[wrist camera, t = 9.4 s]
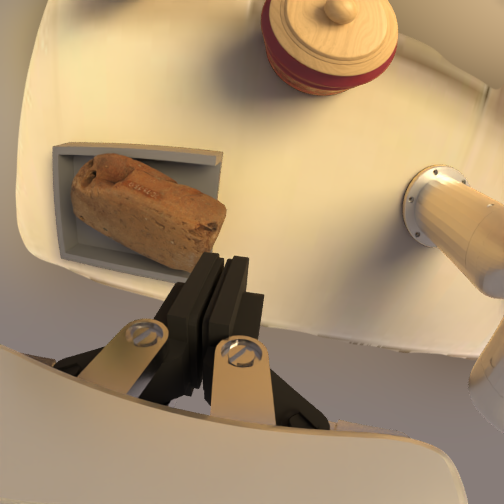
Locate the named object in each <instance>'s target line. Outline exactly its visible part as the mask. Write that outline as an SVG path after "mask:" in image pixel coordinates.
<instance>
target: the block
mask: <svg viewBox="0 0 504 504" xmlns="http://www.w3.org/2000/svg"><path fill="white" fill-rule="evenodd" d="M70 195H71V201H72V206H73V212H74V214H75V216H76V217H77V218H79V219H80V220H81V221H83V222H84V223H85V224H87V225H89V226H90V227H92V228H94V229H95V230H97V231H98V232H100V233H102V234H104V235H105V236H107V237H109V238H111V239H113V240H114V241H116V242H118V243H120V244H122V245H124V246H125V247H127V248H129V249H131V250H133V251H135V252H137V253H139V254H141V255H143V256H145V257H147V258H150V259H152V260H154V261H156V262H158V263H160V264H163V265H165V266H167V267H169V268H172V269H176V270H185V271H187V272H189V273H191V272H192V271H193V269H194V267H195V265H196V264H197V262H198V260H199V259H200V257H201V255H202V254H203V252H210V251H211V249H212V247H213V245H214V243H215V240H216V239H217V236H218V234H219V232H220V229H221V227H222V224H223V222H224V219H225V216H226V207H225V205H223V204H222V203H220V202H219V201H218V200H216V199H214V198H213V197H211V196H209V195H207V194H204V193H202V192H200V191H199V190H197V189H194V188H191V187H189V186H187V185H182V184H178V183H177V182H176V181H175V180H173V179H172V178H170V177H168V176H167V175H165V174H163V173H162V172H160V171H158V170H156V169H154V168H152V167H150V166H148V165H146V164H144V163H142V162H139V161H137V160H133V159H132V158H129V157H127V156H124V155H119V154H115V153H106V154H99V155H97V156H95V157H94V158H93V159H91V160H89V161H88V162H87V163H85V164H84V165H83V166H82V167H81V168H80V170H79V171H78V173H77V174H76V176H75V177H74V178H73V181H72V185H71V194H70Z"/></svg>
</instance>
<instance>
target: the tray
mask: <svg viewBox="0 0 504 504" xmlns="http://www.w3.org/2000/svg"><path fill="white" fill-rule="evenodd" d="M106 153H115V154H119V155H124V156H127V157H129V158H132V159H133V160H137V161H139V162H142V163H144V164H146V165H148V166H150V167H152V168H154V169H156V170H158V171H160V172H162V173H163V174H165V175H167V176H168V177H170V178H172V179H173V180H175V181H176V182H177V183H178V184H182V185H187V186H189V187H191V188H194V189H197V190H199V191H200V192H202V193H204V194H207V195H209V196H211V197H213V198H214V199H216V200H218V191H219V182H220V173H221V165H222V156H223V152H218V151H210V150H201V149H191V148H181V147H169V146H157V145H141V144H122V143H87V142H69V143H65V144H61V145H57V146H53V187H54V203H55V215H56V225H57V233H58V241H59V249H60V255H61V258H62V259H66V260H70V261H74V262H79V263H83V264H87V265H92V266H96V267H100V268H105V269H109V270H114V271H119V272H123V273H128V274H133V275H137V276H142V277H147V278H152V279H157V280H162V281H167V282H172V283H177V282H183V283H185V282H186V281H187V279H188V277H189V276H190V274H191V273H189V272H187V271H185V270H176V269H172V268H169V267H167V266H165V265H163V264H160V263H158V262H156V261H154V260H152V259H150V258H147V257H145V256H143V255H141V254H139V253H137V252H135V251H133V250H131V249H129V248H127V247H125V246H124V245H122V244H120V243H118V242H116V241H114V240H113V239H111V238H109V237H107V236H105V235H104V234H102V233H100V232H98V231H97V230H95V229H94V228H92V227H90V226H89V225H87V224H85V223H84V222H83V221H81V220H80V219H79V218H77V217H76V216H75V214H74V212H73V206H72V201H71V195H70V194H71V185H72V181H73V178H74V177H75V176H76V174H77V173H78V171H79V170H80V168H81V167H82V166H83V165H84V164H85V163H87V162H88V161H89V160H91V159H93V158H94V157H95V156H97V155H99V154H106ZM212 249H213V247H212ZM212 249H211V251H210V252H211V253H212Z"/></svg>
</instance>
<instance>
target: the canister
mask: <svg viewBox="0 0 504 504" xmlns="http://www.w3.org/2000/svg"><path fill="white" fill-rule="evenodd" d="M261 29H262V34H263V38H264V43H265V46H266V53H267V57H268V60H269V62H270V64H271V66H272V68H273V70H274V71H275V73H276V74H277V75H278V76H279V77H280V78H281V79H282V80H283V81H284V82H285V83H287V84H288V85H290V86H291V87H293V88H295V89H297V90H299V91H301V92H304V93H308V94H312V95H320V96H326V95H334V94H338V93H341V92H344V91H347V90H349V89H351V88H354V87H357V86H359V85H363V84H365V83H368V82H370V81H372V80H374V79H375V78H377V77H378V76H380V75H381V74H382V73H383V72H384V71H385V70H386V69H387V68H388V66H389V65H390V63H391V62H392V60H393V58H394V55H395V52H396V48H397V38H398V24H397V20H396V16H395V13H394V11H393V9H392V7H391V5H390V4H389V2H388V0H266V1H265V3H264V6H263V9H262V13H261Z"/></svg>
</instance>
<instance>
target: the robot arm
mask: <svg viewBox="0 0 504 504" xmlns="http://www.w3.org/2000/svg"><path fill="white" fill-rule="evenodd" d="M433 171H434V172H433ZM409 198H410V199H409ZM403 217H404V222H405V225H406V227H407V230H408V231H409V233H410V234H411V235H412V237H413V238H414V239H415V240H417V241H418V242H419V243H420V244H422V245H424V246H428V247H438V248H439V249H440V250H441V251H442V252H443V253H444V254H445V255H446V256H447V257H448V258H449V259H450V260H451V261H452V262H453V263H454V264H455V265H456V266H457V268H458V269H459V270H460V271H461V272H462V273H463V274H464V275H465V276H466V277H467V278H468V279H469V281H470V282H471V283H472V284H473V285H474V286H475V287H476V288H477V289H478V290H479V291H480V292H481V293H483V294H484V295H486V296H489V297H491V298H496V299H504V205H503V204H501V203H499V202H498V201H496V200H494V199H492V198H490V197H488V196H486V195H484V194H483V193H481V192H479V191H477V190H475V189H473V188H471V187H470V184H469V182H468V180H467V179H466V178H465V176H464V175H463V174H462V173H461V172H459V171H458V170H456V169H454V168H453V167H450V166H447V165H433V166H430V167H428V168H426V169H424V170H423V171H421V172H420V173H419V174H418V175H417V176H415V178H414V179H413V180H412V182H411V183H410V185H409V187H408V189H407V191H406V194H405V197H404V202H403ZM416 232H417V233H416ZM248 265H249V258H247V257H240V256H234V257H233V259H228V260H227V262H226V264H225V267H224V258H219V254H218V253H211V252H203V254H202V255H201V257H200V259H199V260H198V262H197V264H196V265H195V267H194V269H193V271H192V272H191V274H190V276H189V277H188V279H187V281H186V282H185V283H183V282H177V283H176V284H175V285H174V287H173V288H172V290H171V292H170V293H169V295H168V296H167V298H166V300H165V301H164V303H163V304H162V306H161V308H160V309H159V311H158V313H157V314H156V316H155V317H154V319H138V320H134V321H133V322H130V323H128V324H127V325H126V326H124V327H123V328H122V329H121V331H120V332H119V333H118V334H117V335H116V336H115V337H114V338H113V339H112V340H111V341H110V342H109V343H108V344H107V345H106V346H105V347H102V348H98V349H95V350H92V351H88V352H85V353H82V354H78V355H75V356H71V357H68V358H65V359H62V360H60V361H58V362H57V363H56V361H55V359H50V358H45V357H39V356H34V355H29V354H24V353H19V352H17V351H15V350H13V349H10V348H8V347H6V346H4V345H1V344H0V504H468V500H467V497H466V493H465V489H464V486H463V483H462V481H461V478H460V476H459V473H458V471H457V469H456V467H455V465H454V463H453V462H452V460H451V459H450V458H449V457H448V455H447V454H446V453H444V452H443V451H442V450H440V449H439V448H436V447H434V446H433V445H430V444H428V443H425V442H422V441H418V440H415V439H411V438H410V437H408V436H407V435H406V434H405V433H403V432H399V431H397V430H390V429H384V428H378V427H373V426H367V425H362V424H357V423H352V422H347V421H343V420H338V422H337V423H336V422H332V421H328V420H327V418H326V417H325V416H324V415H323V414H322V413H321V412H320V411H319V410H318V409H316V408H315V407H314V406H313V405H312V404H310V403H309V402H308V401H307V400H306V399H305V398H303V397H302V396H301V395H300V394H299V393H298V392H296V391H295V390H294V389H293V388H292V387H290V386H289V385H288V384H287V383H286V382H285V381H284V380H282V379H281V378H280V377H279V376H278V375H277V374H276V373H275V372H274V371H272V370H271V369H270V366H269V357H268V352H267V349H266V347H265V346H264V345H263V343H261V342H260V341H258V336H259V329H260V322H261V315H262V308H263V301H264V294H257V293H249V292H246V286H247V276H248ZM202 379H203V390H204V399H205V400H206V401H207V402H208V404H209V405H210V406H211V412H210V416H209V415H204V414H199V413H194V412H190V411H185V410H181V409H177V408H174V407H175V405H176V401H177V400H176V398H178V397H180V396H183V395H186V396H191V395H192V392H193V389H194V388H196V389H199V388H200V385H201V382H202ZM468 389H469V394H470V397H471V400H472V402H473V404H474V405H475V407H476V409H477V410H478V411H479V413H480V414H481V415H482V416H483V417H484V418H485V419H486V420H487V421H488V422H489V423H490V424H492V425H493V426H494V427H495V428H497V429H498V430H500V431H501V432H502V433H503V434H504V317H503V318H502V320H501V322H500V324H499V326H498V327H497V329H496V331H495V332H494V334H493V336H492V337H491V339H490V341H489V342H488V344H487V345H486V347H485V348H484V350H483V352H482V353H481V355H480V356H479V358H478V360H477V361H476V363H475V365H474V367H473V369H472V371H471V373H470V377H469V382H468Z"/></svg>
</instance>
